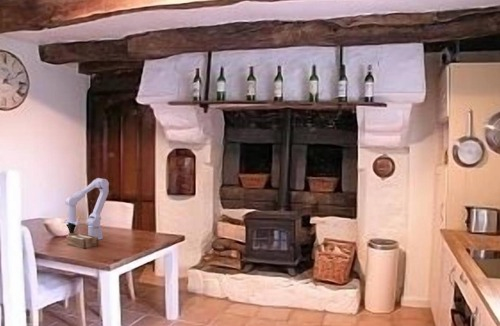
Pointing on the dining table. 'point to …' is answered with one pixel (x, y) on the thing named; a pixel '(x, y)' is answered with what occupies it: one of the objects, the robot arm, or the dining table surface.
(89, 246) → the keepsake box
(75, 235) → the lid
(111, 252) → the dining table surface
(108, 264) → the dining table surface
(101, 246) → the dining table surface
